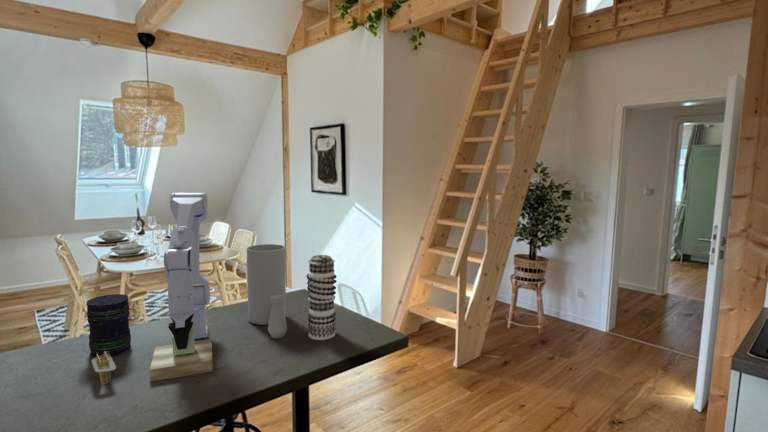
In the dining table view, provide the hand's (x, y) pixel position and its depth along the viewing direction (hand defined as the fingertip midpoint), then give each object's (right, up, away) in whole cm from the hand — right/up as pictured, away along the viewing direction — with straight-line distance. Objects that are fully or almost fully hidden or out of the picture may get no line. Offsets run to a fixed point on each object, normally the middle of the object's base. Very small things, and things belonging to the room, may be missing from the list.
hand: (182, 344), depth 109 cm
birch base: (0, -5, +1) cm, 5 cm away
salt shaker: (+20, -4, +20) cm, 28 cm away
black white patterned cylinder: (+33, -4, +22) cm, 40 cm away
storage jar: (-24, -4, +8) cm, 25 cm away
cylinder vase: (+13, -2, +34) cm, 37 cm away
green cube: (0, -2, 0) cm, 2 cm away
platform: (-15, -7, -8) cm, 18 cm away
